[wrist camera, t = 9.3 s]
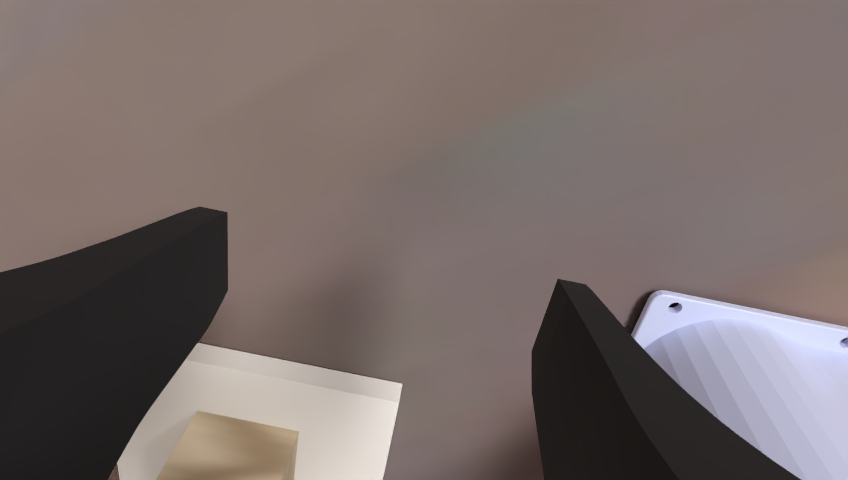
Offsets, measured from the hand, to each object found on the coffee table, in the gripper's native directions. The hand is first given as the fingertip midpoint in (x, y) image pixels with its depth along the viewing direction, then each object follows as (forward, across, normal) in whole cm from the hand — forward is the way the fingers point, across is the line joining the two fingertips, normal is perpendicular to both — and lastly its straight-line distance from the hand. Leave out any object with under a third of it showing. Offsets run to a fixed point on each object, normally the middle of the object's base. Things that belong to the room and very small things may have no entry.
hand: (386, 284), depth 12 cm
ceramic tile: (+9, +6, +18) cm, 21 cm away
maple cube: (+8, +6, +18) cm, 20 cm away
